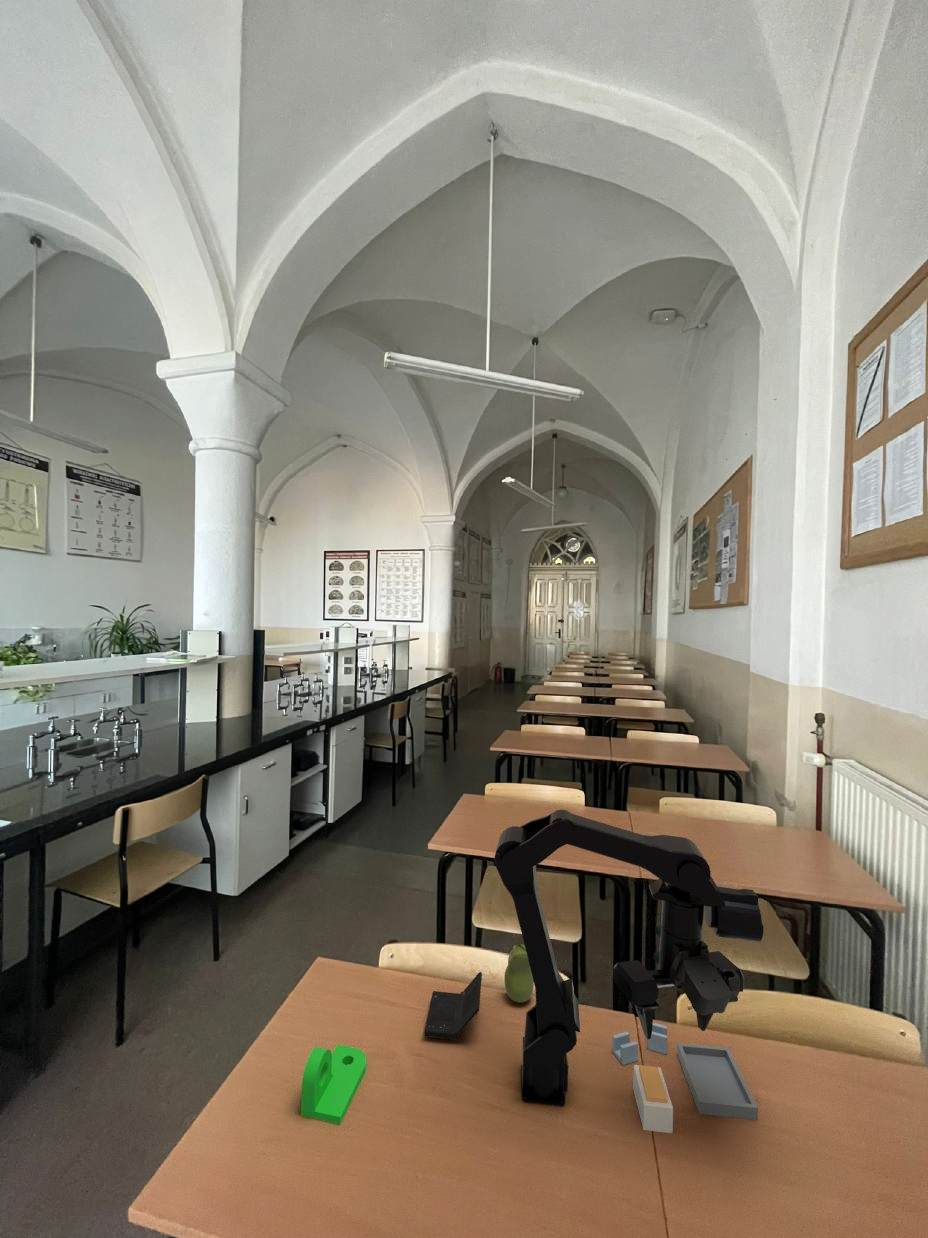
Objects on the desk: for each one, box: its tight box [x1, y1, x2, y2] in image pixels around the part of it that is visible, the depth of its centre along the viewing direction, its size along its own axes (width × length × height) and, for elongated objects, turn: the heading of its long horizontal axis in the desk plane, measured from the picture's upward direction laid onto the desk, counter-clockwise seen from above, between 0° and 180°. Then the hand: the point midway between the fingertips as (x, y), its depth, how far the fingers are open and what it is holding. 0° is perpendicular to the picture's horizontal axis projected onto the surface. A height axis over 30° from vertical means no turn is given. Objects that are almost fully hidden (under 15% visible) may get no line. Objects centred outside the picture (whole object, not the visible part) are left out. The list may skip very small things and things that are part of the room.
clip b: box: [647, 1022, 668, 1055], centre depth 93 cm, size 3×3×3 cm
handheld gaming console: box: [423, 971, 483, 1041], centre depth 98 cm, size 12×7×10 cm
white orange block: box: [632, 1064, 674, 1134], centre depth 81 cm, size 4×7×5 cm, turn 174°
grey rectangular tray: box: [676, 1042, 759, 1121], centre depth 85 cm, size 8×11×2 cm
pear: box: [503, 942, 535, 1003], centre depth 104 cm, size 6×5×10 cm
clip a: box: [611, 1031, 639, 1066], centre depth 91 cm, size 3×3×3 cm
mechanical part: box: [300, 1043, 367, 1125], centre depth 83 cm, size 12×6×8 cm, turn 168°
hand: (674, 1033), depth 81 cm, fingers open, 9 cm apart
